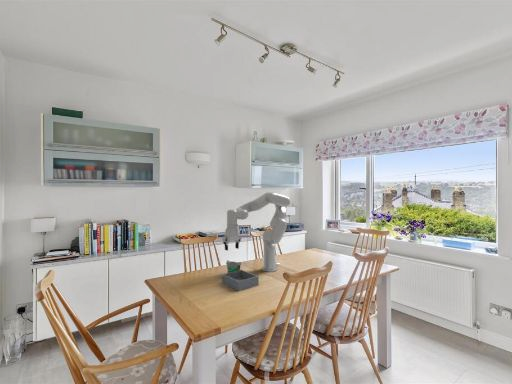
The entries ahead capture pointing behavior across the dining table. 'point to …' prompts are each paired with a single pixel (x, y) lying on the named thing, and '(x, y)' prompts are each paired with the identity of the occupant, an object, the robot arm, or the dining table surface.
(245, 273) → the crate
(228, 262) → the food container
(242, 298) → the dining table surface
